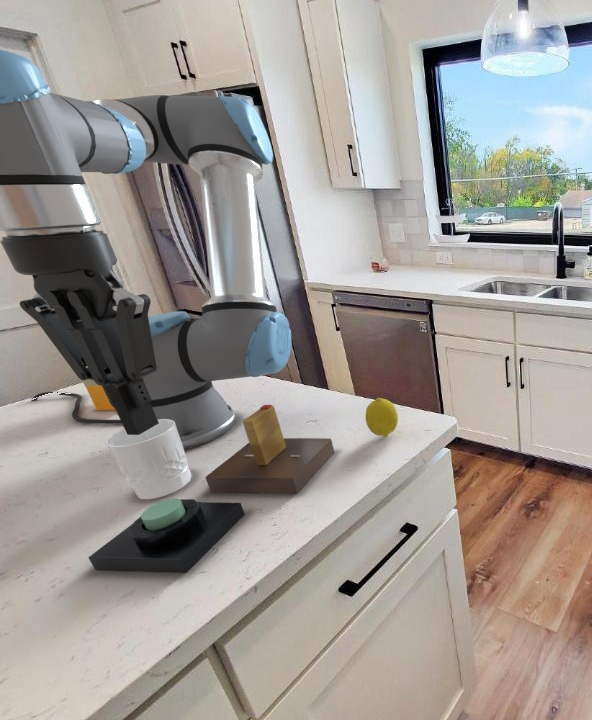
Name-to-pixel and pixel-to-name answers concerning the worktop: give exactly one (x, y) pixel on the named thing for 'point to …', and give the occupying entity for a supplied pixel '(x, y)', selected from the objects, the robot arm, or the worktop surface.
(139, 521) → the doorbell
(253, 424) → the lock turn
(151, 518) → the bell button
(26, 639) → the worktop surface
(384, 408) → the lemon
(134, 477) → the white cup
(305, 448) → the plate
